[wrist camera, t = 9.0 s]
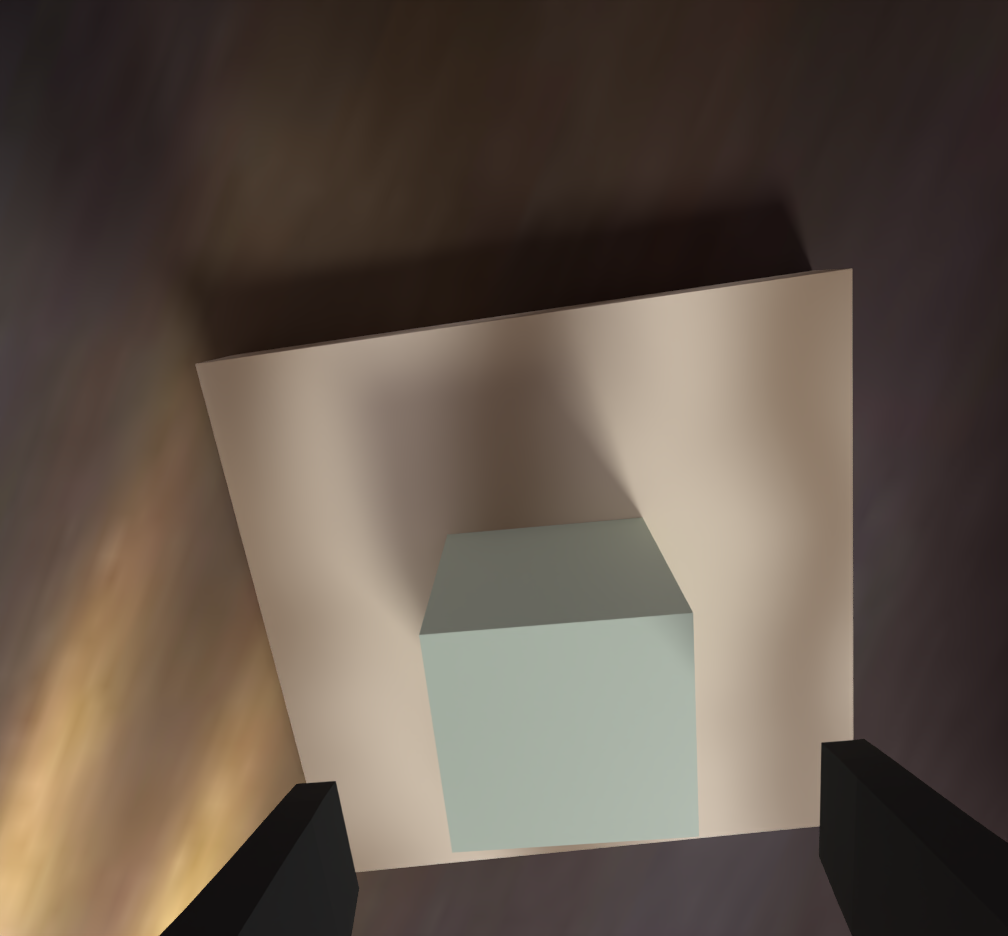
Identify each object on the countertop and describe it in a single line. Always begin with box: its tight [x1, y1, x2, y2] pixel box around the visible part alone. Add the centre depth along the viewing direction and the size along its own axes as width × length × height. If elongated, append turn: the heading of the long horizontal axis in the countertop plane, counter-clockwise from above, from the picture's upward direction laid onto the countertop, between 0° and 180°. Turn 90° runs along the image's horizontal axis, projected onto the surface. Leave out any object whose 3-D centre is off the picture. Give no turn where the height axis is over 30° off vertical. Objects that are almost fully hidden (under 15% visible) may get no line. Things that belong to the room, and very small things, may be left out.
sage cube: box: [419, 517, 699, 853], centre depth 14 cm, size 4×4×4 cm
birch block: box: [195, 269, 853, 872], centre depth 17 cm, size 14×14×2 cm
